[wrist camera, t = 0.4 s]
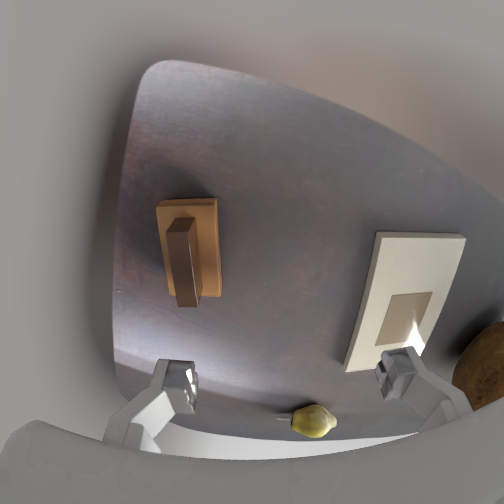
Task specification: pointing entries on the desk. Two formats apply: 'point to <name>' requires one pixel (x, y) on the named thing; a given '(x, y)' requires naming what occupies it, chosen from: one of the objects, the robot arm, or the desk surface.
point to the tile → (403, 294)
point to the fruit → (311, 421)
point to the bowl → (482, 368)
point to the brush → (190, 248)
